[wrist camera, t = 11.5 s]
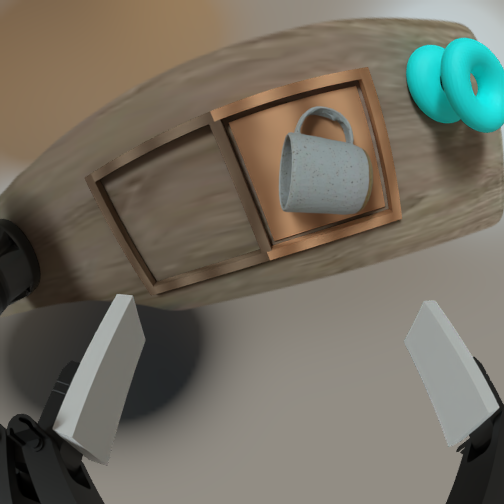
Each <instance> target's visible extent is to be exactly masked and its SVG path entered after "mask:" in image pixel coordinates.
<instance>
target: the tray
mask: <svg viewBox="0 0 504 504" xmlns="http://www.w3.org/2000/svg"><path fill="white" fill-rule="evenodd" d="M354 80H358V81H359V84H360V87H361V90H362V94H363V97H364V100H365V103H366V107H367V110H368V113H369V117H370V121H371V124H372V128H373V132H374V136H375V140H376V144H377V148H378V153H379V157H380V162H381V167H382V172H383V177H384V182H385V188H386V194H387V200H388V206H389V209H388V210H384V211H381V212H378V213H375V214H372V215H368V216H365V217H362V218H359V219H356V220H352V221H349V222H346V223H343V224H340V225H336V226H333V227H330V228H327V229H324V230H320V231H317V232H314V233H311V234H308V235H304V236H301V237H298V238H295V239H292V240H289V241H285V242H282V243H279V244H276V245H273V246H271V244H270V241H269V238H268V236H267V233H266V231H265V228H264V225H263V223H262V220H261V218H260V215H259V212H258V210H257V207H256V205H255V202H254V200H253V197H252V194H251V192H250V189H249V187H248V184H247V182H246V179H245V177H244V174H243V172H242V169H241V166H240V164H239V161H238V159H237V156H236V154H235V151H234V149H233V147H232V144H231V142H230V139H229V137H228V134H227V132H226V129H225V127H224V124H223V122H222V119H223V118H226V117H228V116H231V115H234V114H236V113H239V112H242V111H245V110H247V109H250V108H253V107H256V106H259V105H262V104H265V103H268V102H271V101H275V100H278V99H281V98H285V97H288V96H291V95H295V94H299V93H302V92H306V91H310V90H314V89H318V88H322V87H326V86H330V85H335V84H340V83H344V82H349V81H354ZM316 106H322V107H328V108H331V109H334V110H336V111H338V112H339V113H341V114H342V115H343V116H344V117H345V118H346V119H347V120H348V121H349V123H350V125H351V128H352V131H353V139H354V141H353V145H356V146H358V147H360V148H362V149H364V150H365V151H366V153H367V154H368V156H369V158H370V160H371V163H372V167H373V186H372V192H371V195H370V198H369V201H368V202H367V204H366V205H365V207H364V208H363V209H362V210H361V211H360V212H358V213H354V214H347V215H340V214H325V213H303V212H302V213H301V212H284V211H283V210H282V208H281V205H280V198H279V171H280V160H281V155H282V148H283V144H284V140H285V137H286V135H287V134H288V133H290V132H293V133H294V131H295V128H296V125H297V123H298V121H299V119H300V118H301V116H302V115H303V114H304V113H305V112H306V111H307V110H309V109H310V108H313V107H316ZM208 124H209V125H210V127H211V130H212V132H213V135H214V137H215V139H216V142H217V144H218V147H219V149H220V151H221V154H222V156H223V159H224V161H225V164H226V166H227V168H228V171H229V173H230V176H231V178H232V181H233V183H234V186H235V188H236V190H237V193H238V195H239V198H240V200H241V203H242V205H243V208H244V210H245V212H246V215H247V217H248V220H249V222H250V225H251V227H252V230H253V232H254V235H255V237H256V240H257V242H258V245H259V247H260V250H257V251H253V252H250V253H247V254H244V255H241V256H237V257H234V258H231V259H228V260H225V261H221V262H218V263H215V264H212V265H209V266H205V267H202V268H199V269H196V270H193V271H189V272H186V273H183V274H180V275H177V276H173V277H170V278H167V279H164V280H161V281H157V282H156V281H155V279H154V278H153V276H152V275H151V273H150V271H149V270H148V268H147V266H146V265H145V263H144V261H143V260H142V258H141V256H140V255H139V253H138V251H137V249H136V248H135V246H134V244H133V242H132V241H131V239H130V237H129V235H128V234H127V232H126V230H125V228H124V226H123V224H122V223H121V221H120V219H119V217H118V215H117V213H116V211H115V209H114V207H113V205H112V204H111V202H110V200H109V198H108V196H107V194H106V192H105V190H104V188H103V186H102V183H101V181H100V179H101V178H103V177H104V176H106V175H108V174H109V173H111V172H113V171H115V170H116V169H118V168H120V167H122V166H123V165H125V164H127V163H129V162H131V161H132V160H134V159H136V158H138V157H140V156H142V155H144V154H146V153H148V152H150V151H151V150H153V149H155V148H157V147H159V146H161V145H164V144H166V143H168V142H170V141H172V140H174V139H176V138H178V137H181V136H183V135H185V134H187V133H189V132H192V131H194V130H196V129H199V128H201V127H203V126H206V125H208ZM229 125H230V127H231V130H232V132H233V135H234V137H235V140H236V142H237V145H238V147H239V150H240V152H241V155H242V157H243V160H244V162H245V165H246V168H247V170H248V173H249V175H250V178H251V180H252V183H253V186H254V188H255V191H256V193H257V196H258V199H259V201H260V204H261V206H262V209H263V212H264V214H265V217H266V220H267V222H268V225H269V228H270V230H271V233H272V236H273V239H274V241H276V240H279V239H283V238H286V237H289V236H292V235H295V234H299V233H302V232H305V231H308V230H311V229H314V228H318V227H321V226H324V225H327V224H330V223H334V222H337V221H340V220H343V219H347V218H350V217H353V216H356V215H359V214H363V213H366V212H369V211H372V210H375V209H379V208H382V207H385V203H384V197H383V191H382V186H381V180H380V175H379V170H378V165H377V161H376V156H375V152H374V148H373V143H372V139H371V135H370V132H369V128H368V124H367V120H366V117H365V113H364V110H363V107H362V103H361V100H360V97H359V94H358V91H357V88H356V86H353V87H348V88H343V89H339V90H334V91H330V92H326V93H322V94H318V95H314V96H310V97H306V98H302V99H299V100H295V101H292V102H288V103H285V104H282V105H278V106H275V107H272V108H269V109H266V110H263V111H260V112H257V113H254V114H251V115H248V116H245V117H242V118H240V119H237V120H234V121H232V122H229ZM300 132H301V134H305V135H310V136H317V137H321V138H325V139H330V140H336V141H342V142H346V139H345V134H344V131H343V128H342V127H341V125H340V124H339V123H338V122H337V121H332V120H331V119H329V118H326V117H322V116H318V115H309V116H308V117H306V118H305V120H304V122H303V124H302V126H301V129H300ZM85 180H86V182H87V184H88V186H89V188H90V191H91V193H92V195H93V197H94V199H95V201H96V202H97V204H98V206H99V208H100V210H101V212H102V214H103V216H104V218H105V220H106V221H107V223H108V225H109V227H110V229H111V231H112V232H113V234H114V236H115V238H116V239H117V241H118V243H119V245H120V246H121V248H122V250H123V252H124V253H125V255H126V257H127V258H128V260H129V262H130V263H131V265H132V266H133V268H134V270H135V271H136V273H137V274H138V276H139V278H140V279H141V281H142V282H143V284H144V285H145V287H146V289H147V290H148V292H149V293H150V295H155V294H158V293H162V292H165V291H169V290H172V289H176V288H179V287H182V286H186V285H189V284H193V283H196V282H199V281H203V280H206V279H210V278H213V277H216V276H220V275H223V274H226V273H230V272H233V271H236V270H240V269H243V268H246V267H250V266H253V265H256V264H260V263H263V262H266V261H270V260H273V259H276V258H279V257H283V256H286V255H289V254H292V253H296V252H299V251H302V250H305V249H309V248H312V247H315V246H318V245H321V244H325V243H328V242H331V241H334V240H337V239H340V238H344V237H347V236H350V235H353V234H356V233H359V232H362V231H366V230H369V229H372V228H375V227H378V226H381V225H384V224H387V223H390V222H394V221H397V220H400V219H402V214H401V206H400V198H399V191H398V185H397V178H396V173H395V167H394V162H393V157H392V152H391V147H390V142H389V138H388V134H387V130H386V125H385V122H384V118H383V114H382V110H381V107H380V103H379V100H378V96H377V93H376V90H375V87H374V84H373V80H372V77H371V74H370V72H369V69H368V67H366V68H359V69H354V70H348V71H343V72H338V73H333V74H328V75H324V76H319V77H315V78H311V79H307V80H303V81H299V82H295V83H292V84H288V85H285V86H281V87H278V88H275V89H271V90H268V91H265V92H262V93H259V94H256V95H253V96H250V97H247V98H244V99H241V100H239V101H236V102H233V103H230V104H228V105H225V106H223V107H220V108H218V109H215V110H213V111H210V112H208V113H205V114H203V115H201V116H198V117H196V118H194V119H191V120H189V121H187V122H185V123H182V124H180V125H178V126H176V127H174V128H172V129H170V130H168V131H166V132H164V133H161V134H159V135H157V136H156V137H154V138H152V139H150V140H148V141H146V142H144V143H142V144H140V145H138V146H137V147H135V148H133V149H131V150H129V151H128V152H126V153H124V154H122V155H121V156H119V157H117V158H115V159H114V160H112V161H110V162H109V163H107V164H105V165H104V166H102V167H101V168H99V169H97V170H96V171H94V172H93V173H91V174H90V175H88V176H87V177H85Z"/></svg>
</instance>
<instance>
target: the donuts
mask: <svg viewBox="0 0 504 504" xmlns="http://www.w3.org/2000/svg"><path fill="white" fill-rule="evenodd" d="M470 73H472V74H473V76H474V77H475V79H476V81H477V85H478V92H477V95H476V96H475V95H474V93H473V90H472V85H471V81H470ZM440 76H441V80H442V85H443V88H444V91H443V89H442V87H441V84H440ZM406 78H407V84H408V88H409V91H410V93H411V95H412V97H413V99H414V101H415V103H416V104H417V106H418V107H419V108H420V109H421V110H422V111H423V112H424V113H425V114H426V115H427V116H428V117H430V118H431V119H433V120H435V121H438V122H441V123H454V122H457V121H459V120H462V121H463V122H464V123H465V124H466V125H467V126H469V127H470V128H472V129H474V130H476V131H479V132H484V133H488V132H493V131H496V130H497V129H499V128H500V127H501V126H502V125H503V124H504V69H503V67H502V65H501V64H500V62H499V60H498V59H497V58H496V56H495V55H494V54H493V53H492V52H491V51H490V50H489V49H488V48H487V47H486V46H485V45H483V44H482V43H480V42H478V41H476V40H473V39H469V38H459V39H456V40H454V41H452V42H451V43H449V44H448V46H447V47H446V49H444V48H442V47H440V46H435V45H426V46H422V47H420V48H418V49H416V50H415V51H414V52H413V53H412V55H411V56H410V58H409V60H408V63H407V69H406Z"/></svg>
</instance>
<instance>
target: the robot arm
mask: <svg viewBox="0 0 504 504" xmlns="http://www.w3.org/2000/svg"><path fill="white" fill-rule="evenodd" d="M39 280H40V270H39V265H38V261H37V258H36V255H35V253H34V251H33V248H32V246H31V245H30V243H29V241H28V239H27V238H26V236H25V235H24V234H23V232H22V231H21V230H20V229H19V228H18V227H17V226H16V225H15V224H13V223H12V222H10V221H9V220H6V219H0V315H1V314H2V312H3V311H4V310H5V309H6V308H7V306H9V305H11V304H13V303H14V302H16V301H18V300H20V299H22V298H24V297H26V296H28V295H30V294H31V293H32V292H33V290H34V289H35V288H36V287H37V286H38V284H39ZM144 343H145V337H144V334H143V331H142V328H141V324H140V320H139V317H138V313H137V309H136V306H135V302H134V298H133V296H132V295H122V294H117V295H116V297H115V299H114V301H113V302H112V304H111V306H110V308H109V309H108V311H107V313H106V315H105V317H104V318H103V320H102V322H101V324H100V326H99V328H98V330H97V331H96V333H95V335H94V337H93V339H92V341H91V343H90V345H89V347H88V349H87V351H86V353H85V355H84V357H83V359H82V361H81V363H78V362H74V361H70V362H69V363H68V364H67V365H66V366H65V367H64V368H63V369H62V371H61V373H60V375H59V377H58V379H57V383H55V385H54V388H53V391H52V392H51V394H50V396H49V399H48V401H47V403H46V405H45V408H44V410H43V412H42V415H41V417H40V420H39V421H38V423H36V422H35V421H34V420H33V419H32V418H31V417H30V416H28V415H26V414H17V415H16V416H14V417H13V418H12V419H11V420H10V422H9V424H8V427H7V429H5V428H4V427H3V426H2V425H1V424H0V504H104V502H103V500H102V498H101V497H100V495H99V493H98V491H97V489H96V488H95V486H94V484H93V482H92V480H91V478H90V476H89V474H88V472H87V470H86V468H85V466H84V464H83V462H82V461H81V460H82V456H83V455H84V456H85V457H87V458H88V459H89V460H91V461H94V462H97V463H100V464H103V465H106V466H107V465H108V461H109V457H110V453H111V448H112V445H113V441H114V438H115V434H116V430H117V427H118V423H119V419H120V416H121V413H122V409H123V406H124V403H125V399H126V396H127V393H128V390H129V387H130V384H131V381H132V378H133V375H134V371H135V368H136V366H137V362H138V360H139V357H140V354H141V351H142V348H143V346H144ZM404 343H405V345H406V347H407V349H408V351H409V353H410V355H411V357H412V359H413V362H414V364H415V366H416V368H417V370H418V372H419V374H420V377H421V379H422V381H423V383H424V385H425V388H426V390H427V392H428V395H429V397H430V400H431V402H432V404H433V407H434V409H435V412H436V414H437V417H438V419H439V422H440V425H441V427H442V430H443V432H444V435H445V438H446V441H447V444H448V447H450V446H452V445H454V444H456V443H459V442H461V441H462V440H463V439H464V438H466V437H467V436H468V435H469V436H470V438H469V439H468V440H467V441H466V442H464V443H463V444H462V445H460V446H459V447H458V449H457V451H456V452H459V451H460V450H461V449H463V448H464V447H465V448H464V449H463V450H462V451H461V452H460V453H462V454H463V457H462V460H461V464H460V467H459V470H458V473H457V476H456V479H455V482H454V485H453V487H452V490H451V492H450V495H449V497H448V500H447V502H446V504H504V404H503V403H502V401H501V399H500V397H499V395H498V393H497V391H496V389H495V387H494V385H493V383H492V382H491V381H490V378H489V376H488V374H486V371H485V369H484V367H483V365H482V364H481V363H480V362H479V361H478V360H477V359H476V358H475V357H472V355H471V354H470V352H469V351H468V349H467V347H466V345H465V344H464V342H463V341H462V339H461V338H460V336H459V335H458V333H457V331H456V330H455V328H454V327H453V325H452V324H451V322H450V321H449V320H448V318H447V317H446V315H445V314H444V312H443V311H442V309H441V308H440V307H439V305H438V304H437V302H436V301H435V300H433V301H424V302H423V304H422V306H421V308H420V311H419V312H418V315H417V317H416V319H415V321H414V323H413V325H412V327H411V328H410V330H409V332H408V334H407V336H406V338H405V340H404Z"/></svg>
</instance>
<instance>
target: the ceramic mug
mask: <svg viewBox="0 0 504 504" xmlns="http://www.w3.org/2000/svg"><path fill="white" fill-rule="evenodd" d="M309 115H318V116H322V117H326V118H329V119H331V120H332V121H337V122H338V123H339V124H340V125H341V127H342V128H343V131H344V134H345V139H346V142H342V141H336V140H330V139H325V138H321V137H317V136H310V135H305V134H301V132H300V129H301V126H302V124H303V122H304V120H305V118H306V117H308V116H309ZM353 141H354V139H353V131H352V128H351V125H350V123H349V121H348V120H347V119H346V118H345V117H344V116H343V115H342V114H341V113H339V112H338V111H336V110H334V109H331V108H328V107H322V106H316V107H313V108H310V109H309V110H307V111H306V112H305V113H304V114H303V115H302V116H301V118H300V119H299V121H298V123H297V125H296V128H295V131H294V133H293V132H290V133H288V134H287V135H286V137H285V140H284V144H283V148H282V155H281V160H280V171H279V198H280V205H281V208H282V210H283V211H284V212H301V213H302V212H303V213H325V214H340V215H347V214H354V213H358V212H360V211H361V210H362V209H363V208H364V207H365V205H366V204H367V202H368V201H369V198H370V195H371V192H372V186H373V167H372V163H371V160H370V158H369V156H368V154H367V153H366V151H365V150H364V149H362V148H360V147H358V146H356V145H353Z"/></svg>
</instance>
